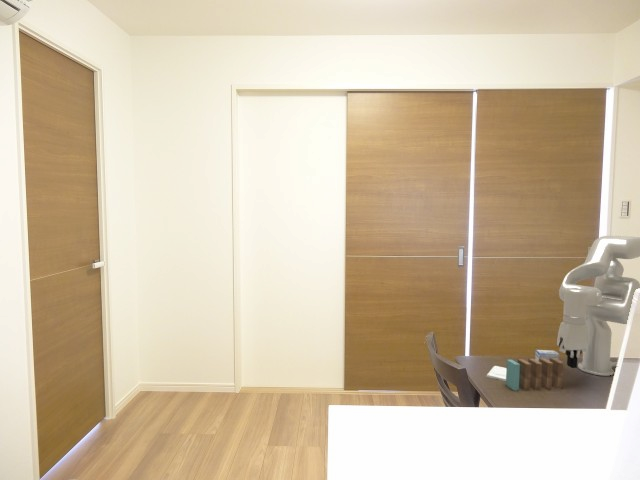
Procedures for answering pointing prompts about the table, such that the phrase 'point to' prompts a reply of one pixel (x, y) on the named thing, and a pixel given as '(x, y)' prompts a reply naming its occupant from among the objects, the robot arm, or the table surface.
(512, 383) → the tile
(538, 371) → the brown wooden block
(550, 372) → the brown flat rectangular block
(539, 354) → the medicine box
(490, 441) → the table surface
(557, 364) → the tile
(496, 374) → the external hard drive
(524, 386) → the tile
